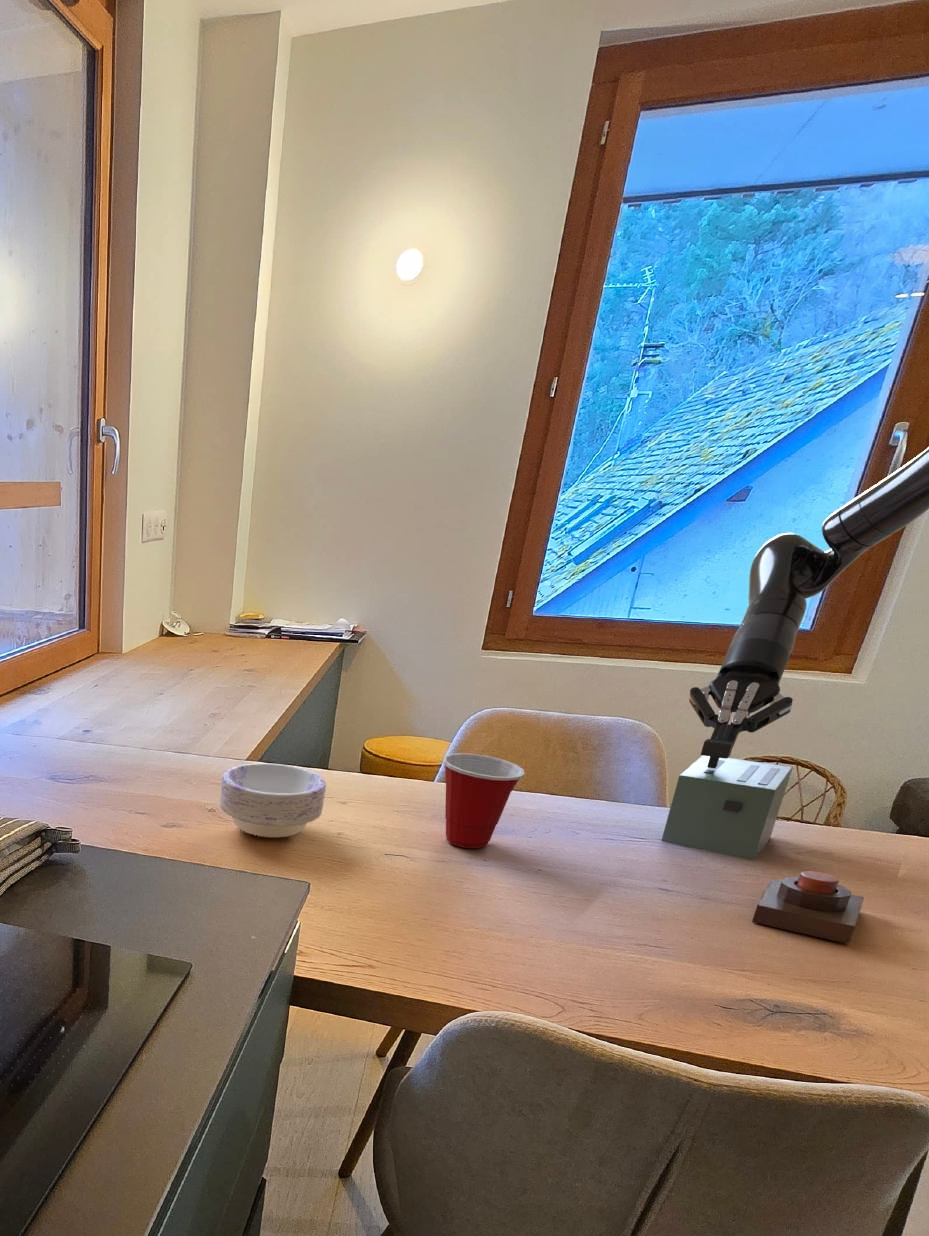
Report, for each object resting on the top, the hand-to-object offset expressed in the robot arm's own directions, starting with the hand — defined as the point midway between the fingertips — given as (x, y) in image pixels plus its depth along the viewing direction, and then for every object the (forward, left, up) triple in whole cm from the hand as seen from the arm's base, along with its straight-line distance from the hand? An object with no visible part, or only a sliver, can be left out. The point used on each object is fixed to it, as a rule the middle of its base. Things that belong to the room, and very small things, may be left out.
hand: (719, 749), depth 133 cm
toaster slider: (+2, +1, -2) cm, 3 cm away
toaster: (-1, +3, -13) cm, 14 cm away
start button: (+14, +26, -10) cm, 32 cm away
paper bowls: (+58, -22, -13) cm, 64 cm away
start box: (+14, +26, -13) cm, 33 cm away
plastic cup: (+33, -8, -14) cm, 37 cm away
